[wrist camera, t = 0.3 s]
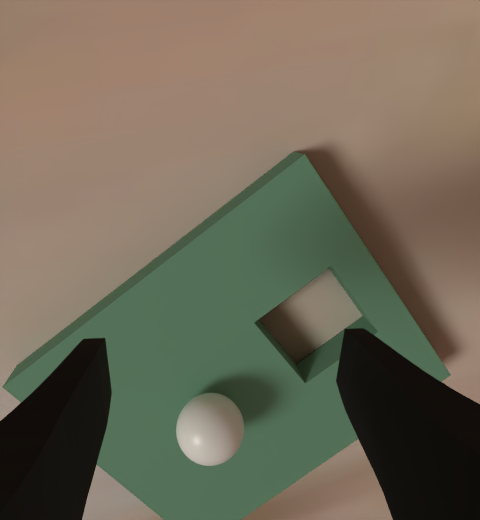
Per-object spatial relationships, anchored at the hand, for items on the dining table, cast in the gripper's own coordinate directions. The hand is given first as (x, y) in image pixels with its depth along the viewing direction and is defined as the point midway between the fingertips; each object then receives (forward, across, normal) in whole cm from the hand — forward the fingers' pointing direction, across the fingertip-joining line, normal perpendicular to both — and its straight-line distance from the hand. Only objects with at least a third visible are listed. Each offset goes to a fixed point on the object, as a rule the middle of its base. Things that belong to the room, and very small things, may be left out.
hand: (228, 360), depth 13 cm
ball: (+6, 0, +9) cm, 11 cm away
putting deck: (+10, -2, +8) cm, 13 cm away
